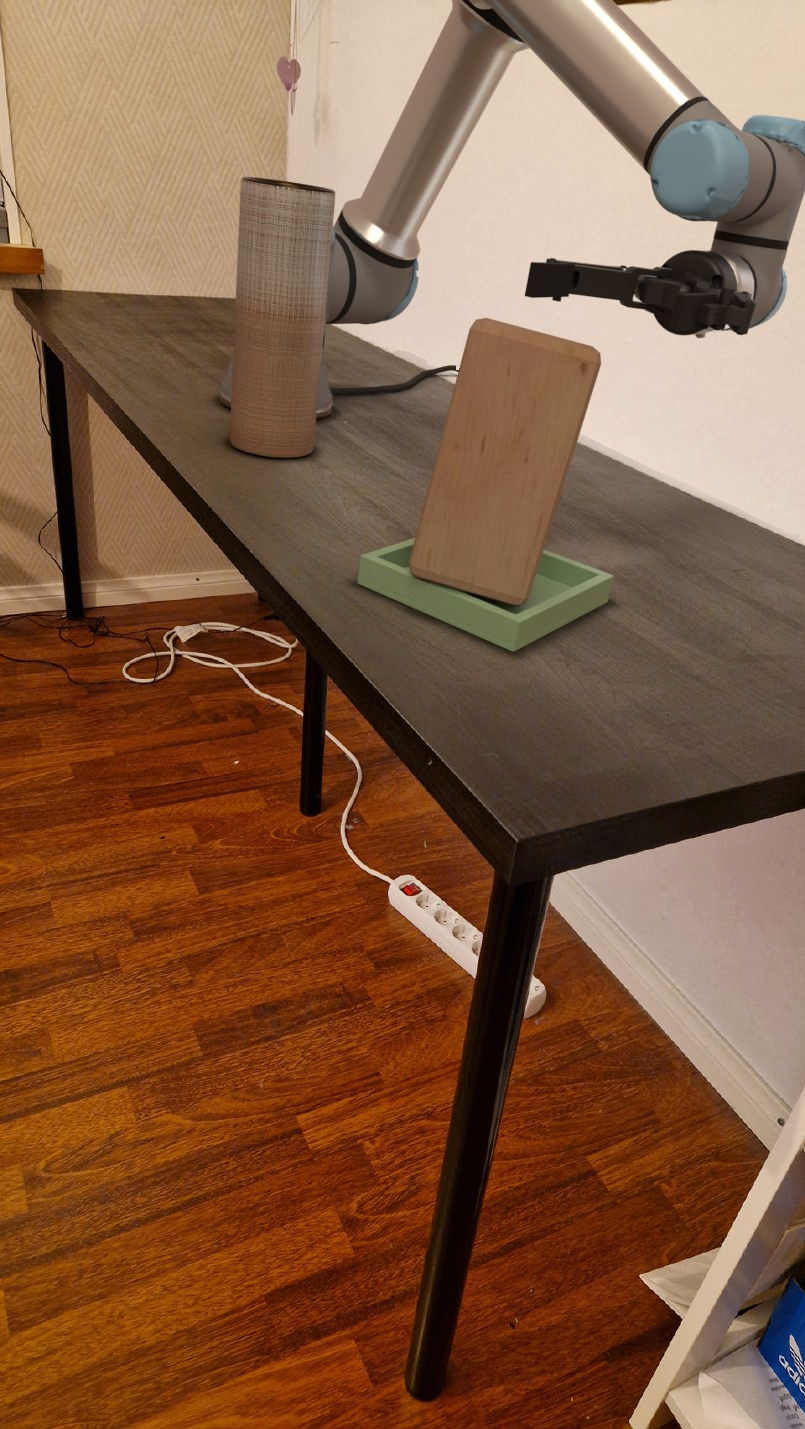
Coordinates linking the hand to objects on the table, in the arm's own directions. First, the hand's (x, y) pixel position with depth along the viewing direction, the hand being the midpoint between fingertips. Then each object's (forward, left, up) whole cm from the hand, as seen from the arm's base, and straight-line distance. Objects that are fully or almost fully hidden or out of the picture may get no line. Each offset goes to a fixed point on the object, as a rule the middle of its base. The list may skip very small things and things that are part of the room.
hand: (600, 296), depth 79 cm
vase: (-5, -41, -24) cm, 48 cm away
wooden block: (+13, 0, -23) cm, 26 cm away
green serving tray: (+10, 0, -24) cm, 26 cm away
